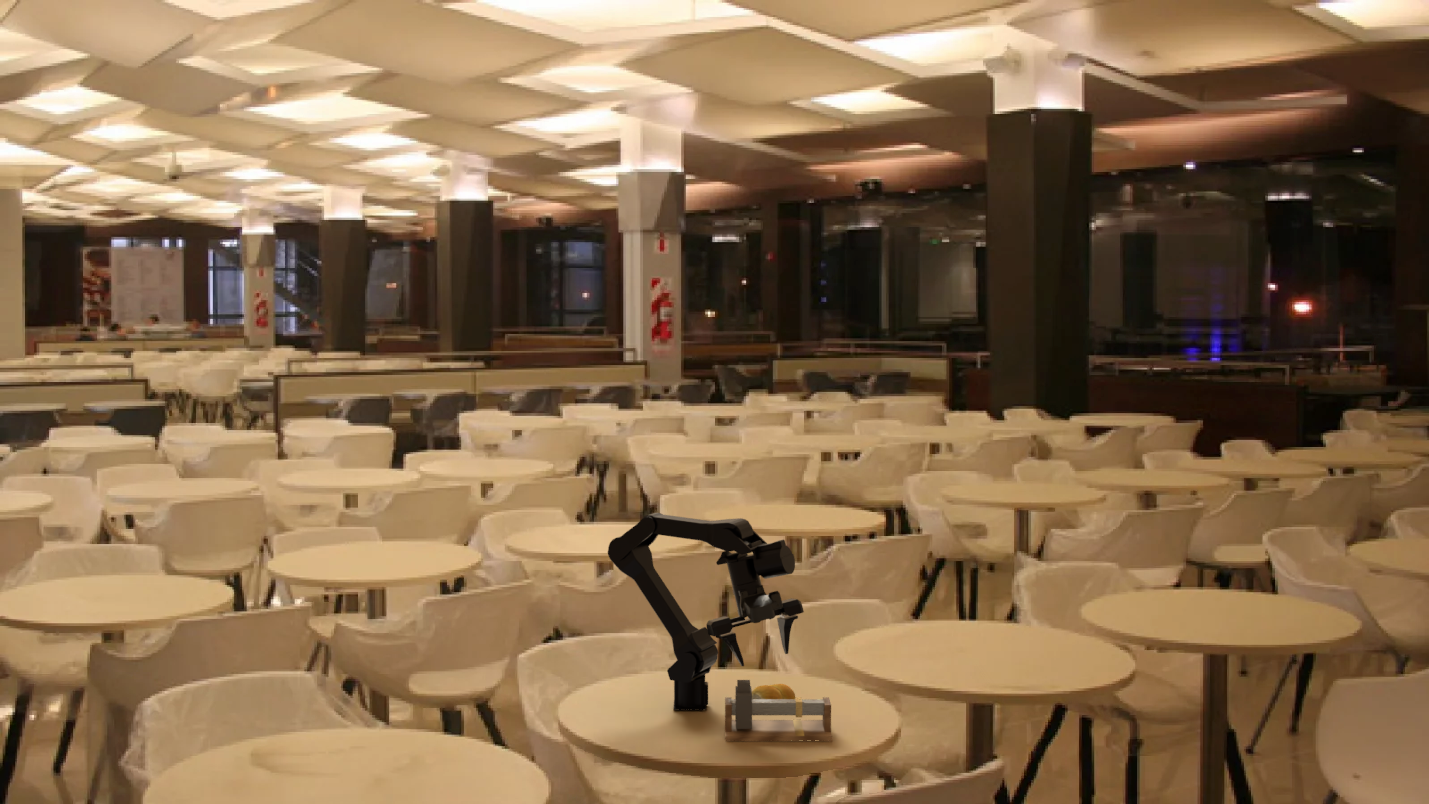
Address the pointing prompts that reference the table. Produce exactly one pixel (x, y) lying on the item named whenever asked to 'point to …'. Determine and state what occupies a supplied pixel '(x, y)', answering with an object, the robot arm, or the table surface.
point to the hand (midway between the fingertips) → (764, 660)
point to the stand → (780, 728)
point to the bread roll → (773, 692)
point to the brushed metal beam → (784, 706)
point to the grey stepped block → (743, 705)
